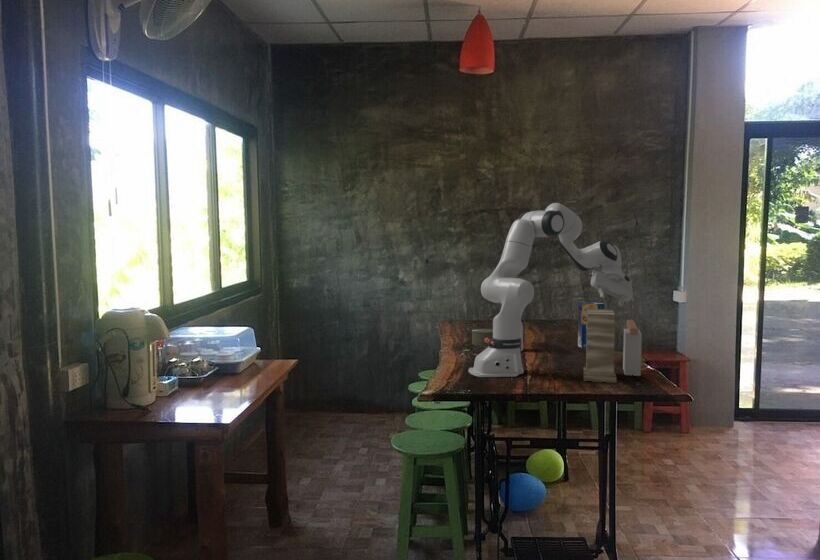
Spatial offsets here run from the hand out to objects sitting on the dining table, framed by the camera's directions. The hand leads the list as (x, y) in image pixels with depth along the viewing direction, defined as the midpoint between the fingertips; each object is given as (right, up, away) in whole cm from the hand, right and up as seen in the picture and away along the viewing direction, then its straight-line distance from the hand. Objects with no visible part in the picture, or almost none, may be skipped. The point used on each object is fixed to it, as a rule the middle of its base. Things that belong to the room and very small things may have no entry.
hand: (611, 301), depth 278 cm
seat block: (+2, -28, -18) cm, 34 cm away
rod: (+3, -11, -17) cm, 21 cm away
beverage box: (+1, -24, +37) cm, 45 cm away
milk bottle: (-38, -25, +29) cm, 54 cm away
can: (-51, -24, +49) cm, 74 cm away
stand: (-13, -29, -26) cm, 42 cm away
